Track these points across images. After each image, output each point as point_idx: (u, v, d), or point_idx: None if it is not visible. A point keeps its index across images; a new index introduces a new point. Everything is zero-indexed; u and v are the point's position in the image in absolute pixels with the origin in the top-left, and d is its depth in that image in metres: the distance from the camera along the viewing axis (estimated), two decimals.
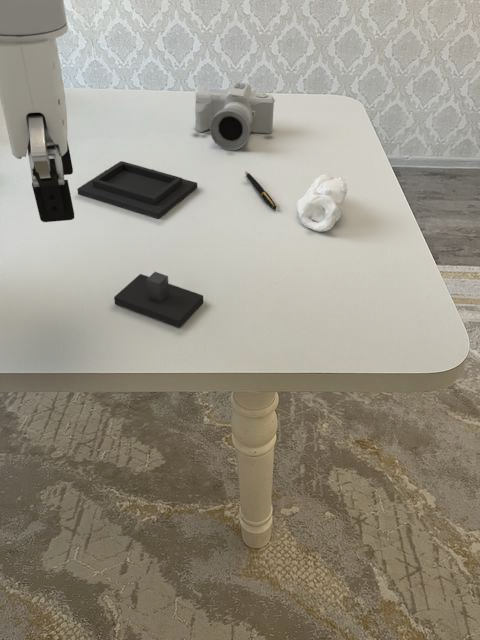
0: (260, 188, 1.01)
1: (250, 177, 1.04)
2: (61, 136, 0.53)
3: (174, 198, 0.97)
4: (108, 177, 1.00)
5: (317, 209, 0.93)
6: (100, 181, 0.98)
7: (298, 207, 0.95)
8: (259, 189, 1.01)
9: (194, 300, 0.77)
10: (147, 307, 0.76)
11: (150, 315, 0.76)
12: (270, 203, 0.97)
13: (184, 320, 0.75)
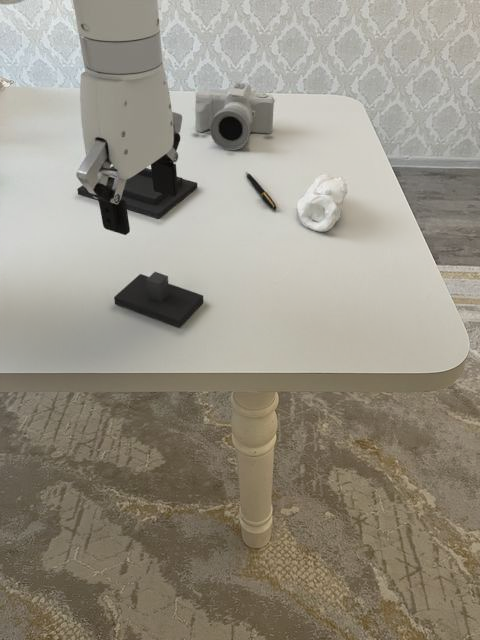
0: (260, 189, 1.01)
1: (250, 178, 1.04)
2: (120, 163, 0.59)
3: (174, 198, 0.97)
4: (108, 177, 1.00)
5: (317, 209, 0.93)
6: None
7: (298, 207, 0.95)
8: (259, 190, 1.01)
9: (194, 300, 0.77)
10: (147, 307, 0.76)
11: (150, 315, 0.76)
12: (270, 204, 0.97)
13: (184, 320, 0.75)
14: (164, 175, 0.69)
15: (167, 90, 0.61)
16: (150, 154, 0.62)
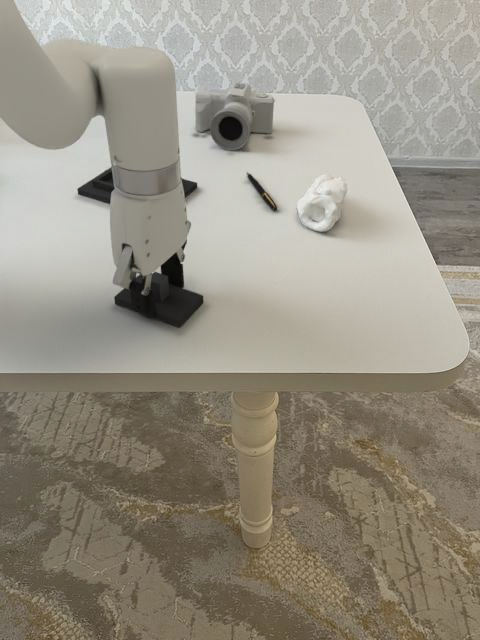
0: (261, 189, 1.01)
1: (251, 178, 1.04)
2: (143, 264, 0.68)
3: None
4: (108, 177, 1.00)
5: (317, 209, 0.93)
6: (100, 181, 0.98)
7: (298, 207, 0.95)
8: (260, 190, 1.01)
9: (194, 300, 0.77)
10: None
11: None
12: (271, 204, 0.97)
13: (184, 320, 0.75)
14: (172, 272, 0.78)
15: (183, 197, 0.71)
16: (168, 251, 0.71)
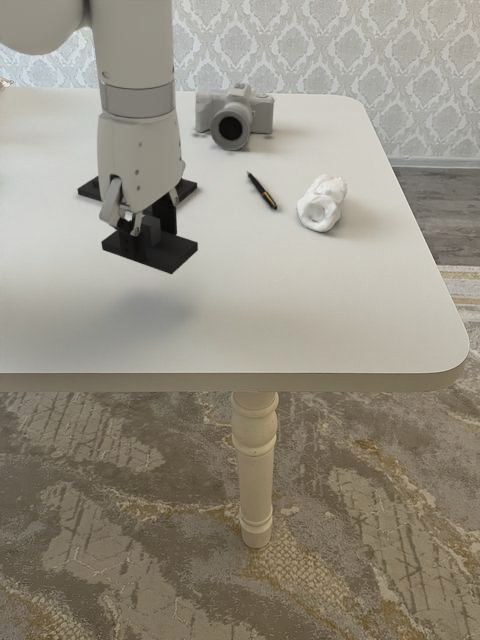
0: (261, 188, 1.01)
1: (252, 177, 1.04)
2: (133, 198, 0.62)
3: None
4: None
5: (317, 209, 0.93)
6: None
7: (298, 207, 0.95)
8: (260, 189, 1.01)
9: (188, 246, 0.72)
10: None
11: None
12: (271, 203, 0.97)
13: (176, 266, 0.70)
14: (164, 217, 0.72)
15: (178, 129, 0.65)
16: (160, 188, 0.66)
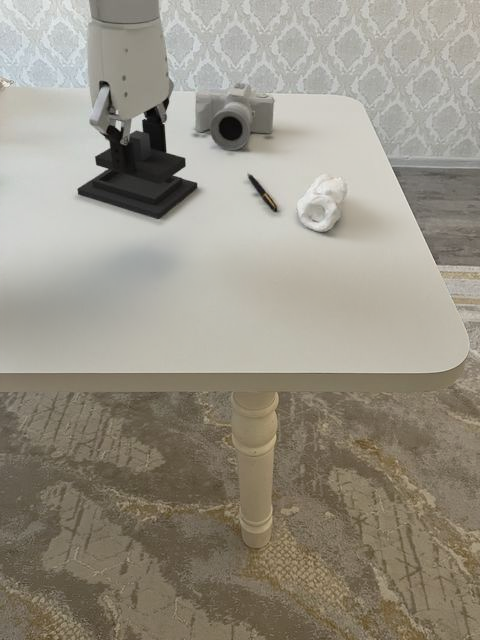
0: (262, 190, 1.01)
1: (252, 179, 1.04)
2: (121, 104, 0.67)
3: (174, 198, 0.97)
4: (108, 177, 1.00)
5: (317, 209, 0.93)
6: (100, 181, 0.98)
7: (298, 207, 0.95)
8: (261, 191, 1.01)
9: (176, 161, 0.76)
10: None
11: None
12: (271, 205, 0.97)
13: (164, 177, 0.74)
14: (154, 134, 0.77)
15: (164, 43, 0.70)
16: (147, 100, 0.71)
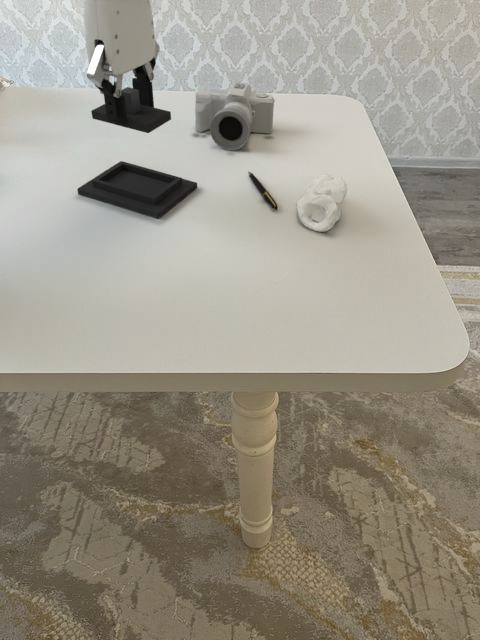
0: (262, 188, 1.01)
1: (253, 177, 1.04)
2: (113, 60, 0.78)
3: (174, 198, 0.97)
4: (108, 177, 1.00)
5: (317, 209, 0.93)
6: (100, 181, 0.98)
7: (298, 207, 0.95)
8: (261, 189, 1.01)
9: (162, 114, 0.87)
10: None
11: None
12: (272, 203, 0.97)
13: (152, 127, 0.85)
14: (143, 91, 0.88)
15: (150, 8, 0.81)
16: (136, 58, 0.82)
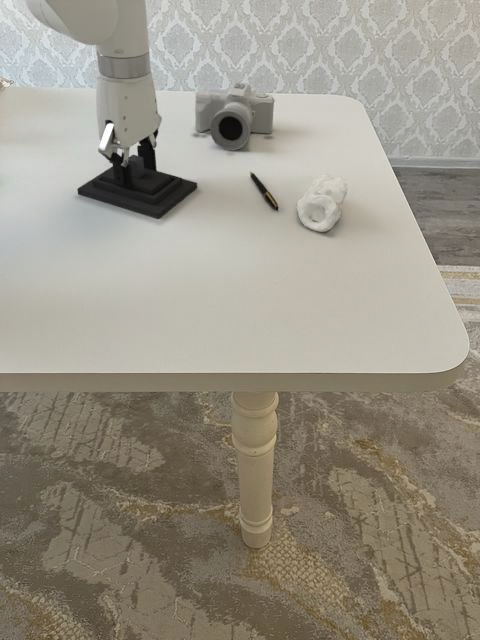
0: (263, 188, 1.01)
1: (254, 177, 1.04)
2: (122, 137, 0.89)
3: (174, 198, 0.97)
4: None
5: (317, 209, 0.93)
6: (100, 181, 0.98)
7: (298, 207, 0.95)
8: (262, 189, 1.01)
9: (164, 178, 0.98)
10: None
11: None
12: (272, 204, 0.97)
13: (155, 191, 0.96)
14: (146, 157, 0.99)
15: (153, 89, 0.92)
16: (141, 132, 0.92)
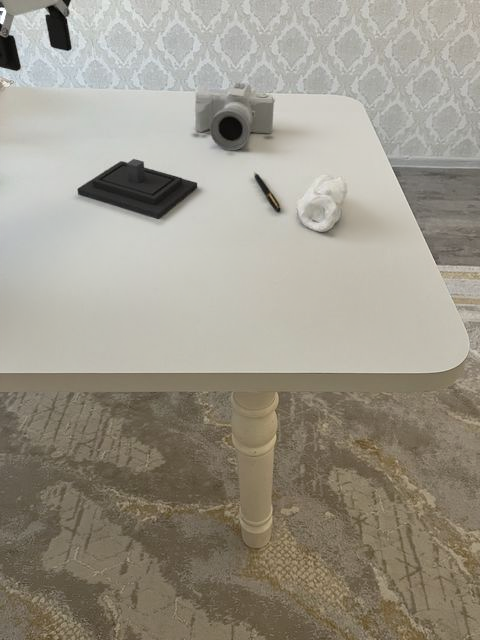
0: (266, 189, 1.01)
1: (258, 178, 1.04)
2: None
3: (174, 198, 0.97)
4: None
5: (317, 209, 0.93)
6: (100, 181, 0.98)
7: (298, 207, 0.95)
8: (265, 190, 1.01)
9: (164, 182, 0.99)
10: (127, 186, 0.97)
11: None
12: (274, 205, 0.97)
13: None
14: (57, 29, 0.79)
15: None
16: None
